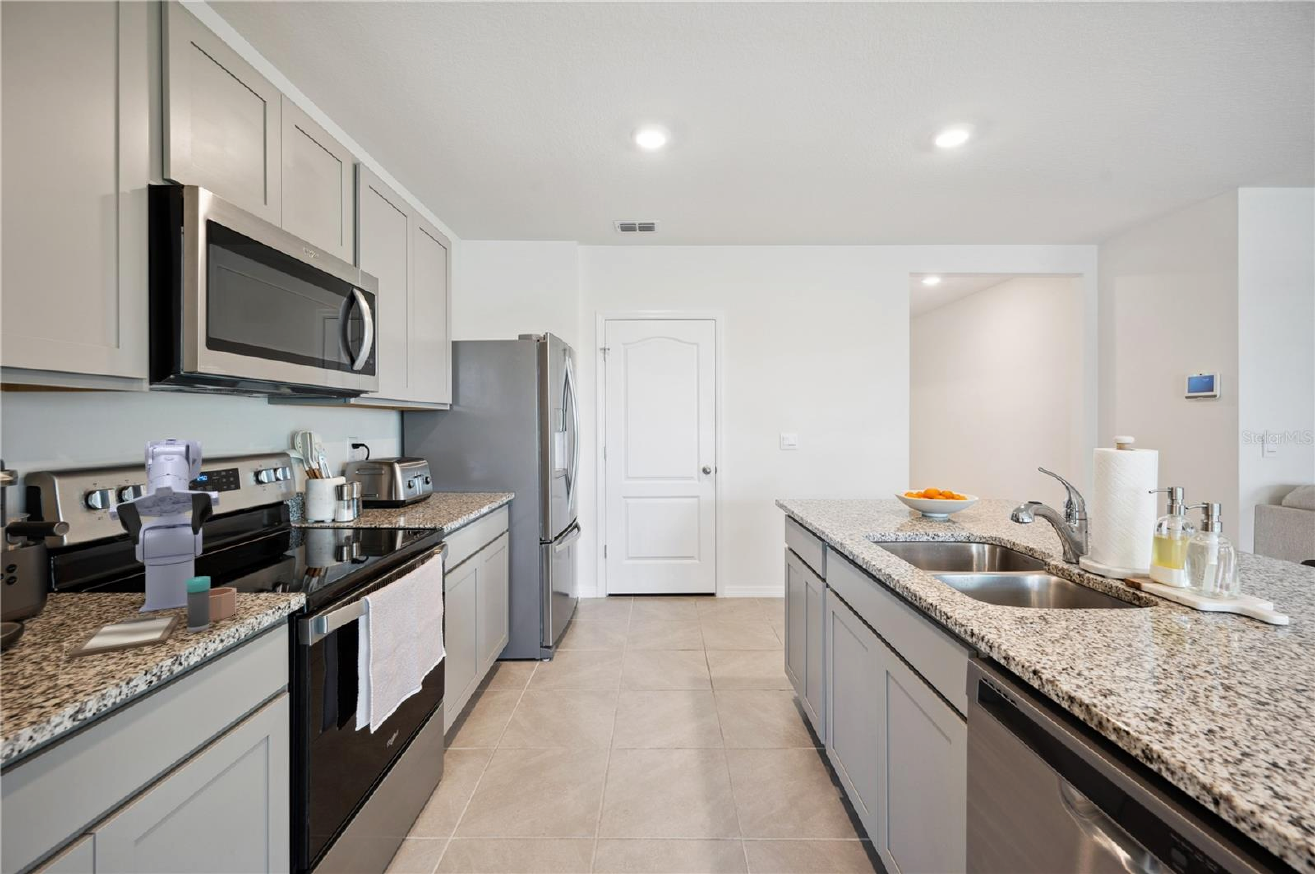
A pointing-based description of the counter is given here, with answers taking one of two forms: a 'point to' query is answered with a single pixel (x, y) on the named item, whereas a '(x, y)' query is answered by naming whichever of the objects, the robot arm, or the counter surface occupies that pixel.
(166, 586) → the robot arm
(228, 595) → the terracotta pot
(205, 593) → the marker
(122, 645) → the picture frame
